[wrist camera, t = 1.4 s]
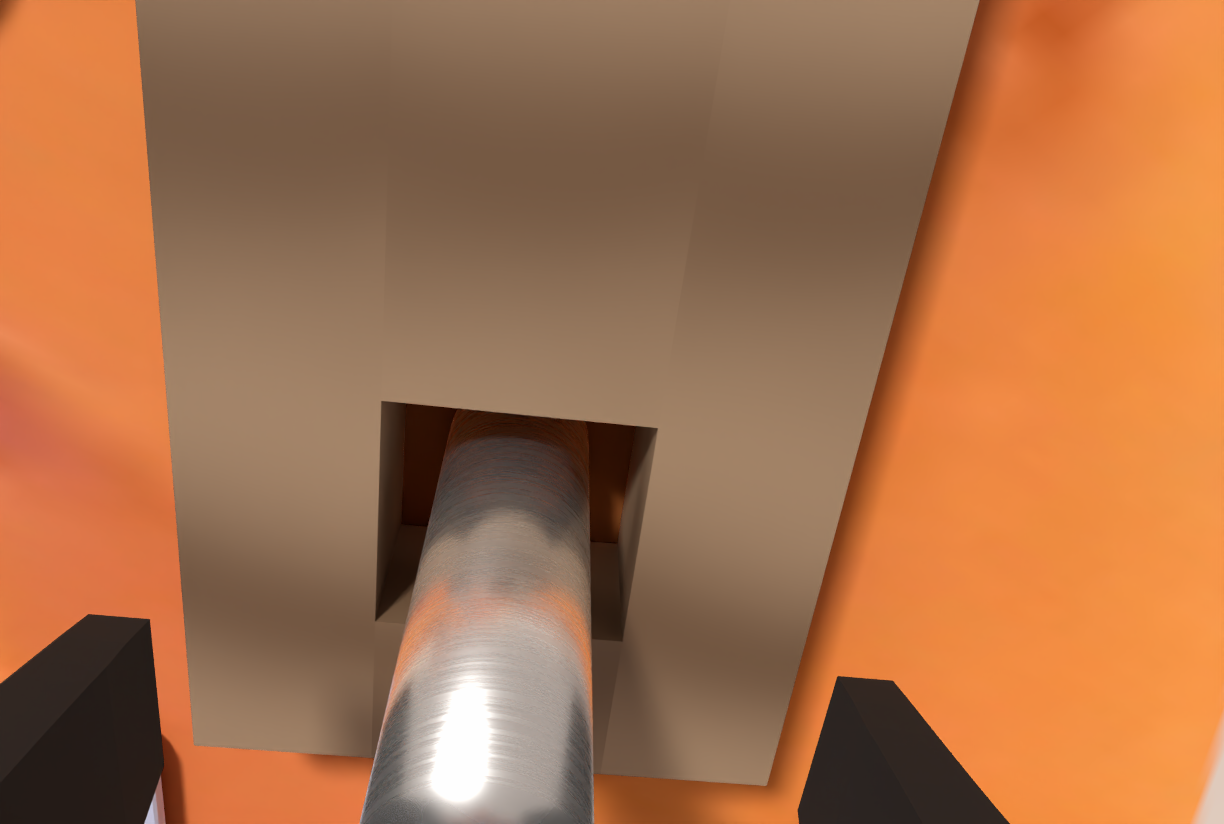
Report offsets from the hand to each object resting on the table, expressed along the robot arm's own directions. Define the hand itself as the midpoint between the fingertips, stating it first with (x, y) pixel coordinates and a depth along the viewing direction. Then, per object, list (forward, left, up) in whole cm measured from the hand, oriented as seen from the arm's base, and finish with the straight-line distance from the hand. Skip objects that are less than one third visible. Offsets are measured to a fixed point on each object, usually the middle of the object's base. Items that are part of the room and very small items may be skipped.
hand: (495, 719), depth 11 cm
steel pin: (0, 0, -6) cm, 6 cm away
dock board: (+4, 0, -6) cm, 8 cm away
